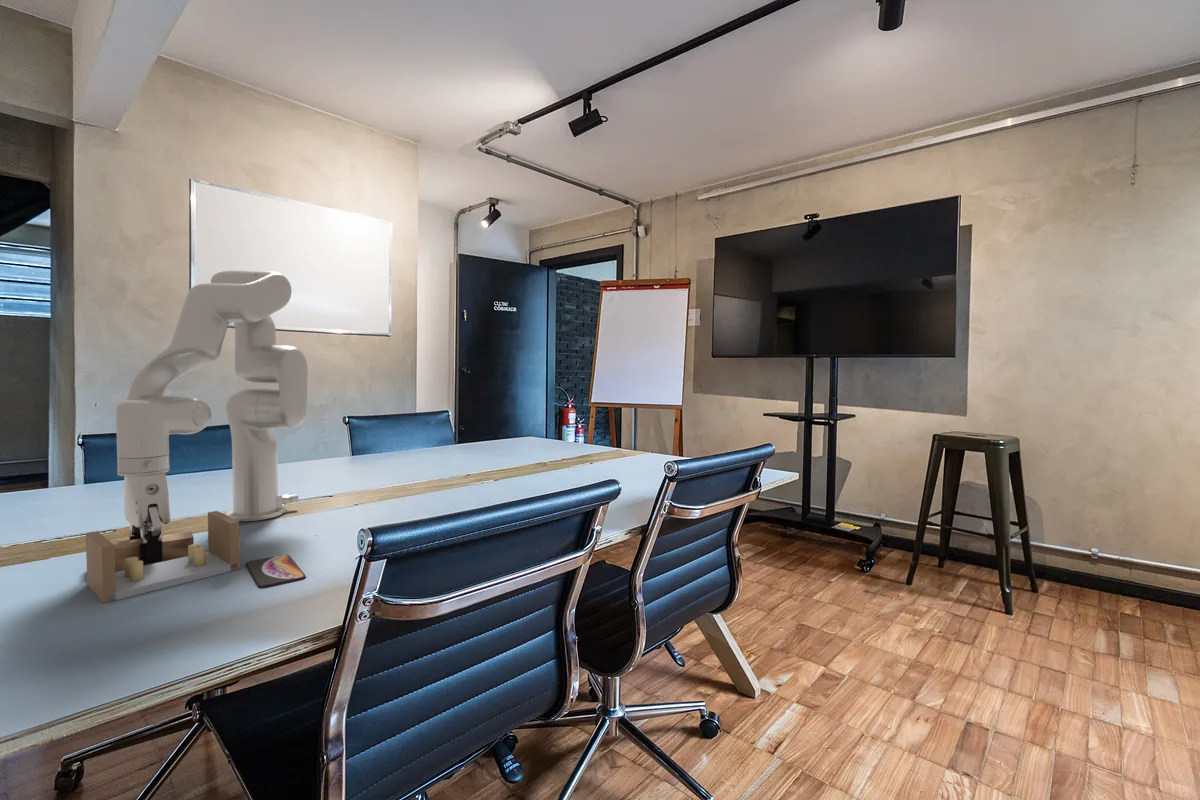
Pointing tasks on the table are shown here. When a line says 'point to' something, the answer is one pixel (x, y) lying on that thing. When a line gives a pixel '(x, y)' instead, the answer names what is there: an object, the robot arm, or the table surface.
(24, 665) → the table surface
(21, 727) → the table surface
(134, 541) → the shelf board
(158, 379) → the robot arm
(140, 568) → the peg stand
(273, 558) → the smartphone
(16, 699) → the table surface
